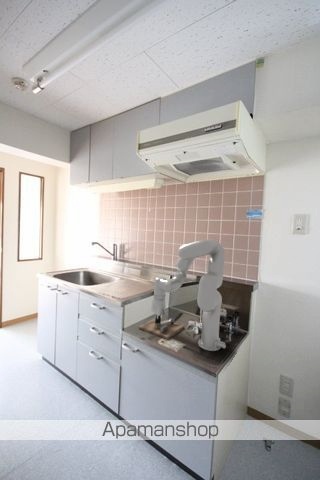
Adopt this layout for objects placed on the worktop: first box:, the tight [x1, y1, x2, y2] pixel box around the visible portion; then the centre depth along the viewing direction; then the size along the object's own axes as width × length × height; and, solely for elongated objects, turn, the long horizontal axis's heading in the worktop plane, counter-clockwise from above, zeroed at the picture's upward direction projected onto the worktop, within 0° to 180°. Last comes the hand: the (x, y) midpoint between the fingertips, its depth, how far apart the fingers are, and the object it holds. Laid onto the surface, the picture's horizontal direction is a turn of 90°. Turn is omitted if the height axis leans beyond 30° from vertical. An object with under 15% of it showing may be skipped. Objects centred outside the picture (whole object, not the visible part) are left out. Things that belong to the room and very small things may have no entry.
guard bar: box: [154, 317, 175, 329], centre depth 145 cm, size 15×3×3 cm, turn 129°
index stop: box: [160, 325, 168, 333], centre depth 137 cm, size 2×5×4 cm, turn 145°
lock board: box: [138, 317, 185, 340], centre depth 144 cm, size 22×20×2 cm
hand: (157, 323), depth 144 cm, fingers closed
